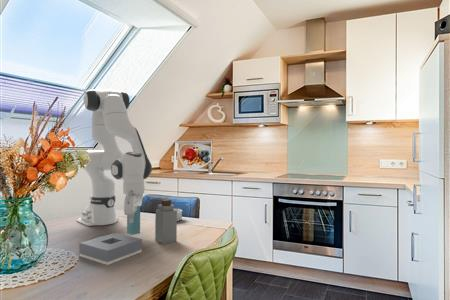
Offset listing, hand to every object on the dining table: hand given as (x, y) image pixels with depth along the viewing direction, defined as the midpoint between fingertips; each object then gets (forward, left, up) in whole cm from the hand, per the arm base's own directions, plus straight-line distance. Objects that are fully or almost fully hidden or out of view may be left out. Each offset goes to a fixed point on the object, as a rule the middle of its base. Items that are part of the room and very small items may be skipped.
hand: (133, 220), depth 135 cm
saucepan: (-13, +41, -9) cm, 44 cm away
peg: (0, 0, -6) cm, 6 cm away
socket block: (+6, -17, -9) cm, 20 cm away
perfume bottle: (+12, +7, -9) cm, 17 cm away
